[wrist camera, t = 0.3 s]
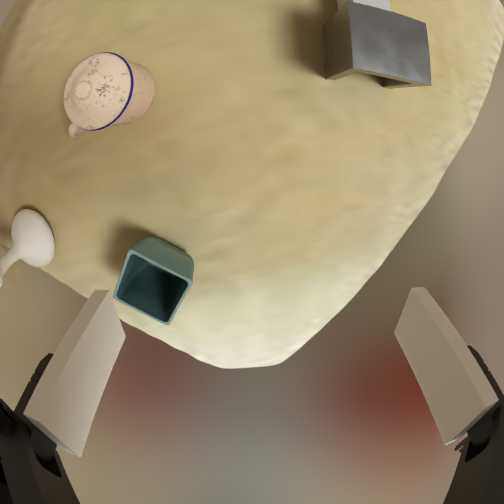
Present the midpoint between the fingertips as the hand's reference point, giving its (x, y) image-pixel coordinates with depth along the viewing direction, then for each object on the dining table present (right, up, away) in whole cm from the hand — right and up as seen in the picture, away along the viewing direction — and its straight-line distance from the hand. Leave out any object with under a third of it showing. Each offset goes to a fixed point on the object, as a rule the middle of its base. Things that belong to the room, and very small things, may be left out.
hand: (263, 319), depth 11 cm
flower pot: (-14, +2, +30) cm, 33 cm away
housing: (+14, +28, +16) cm, 35 cm away
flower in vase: (-39, +7, +27) cm, 48 cm away
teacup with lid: (-18, +23, +19) cm, 35 cm away
